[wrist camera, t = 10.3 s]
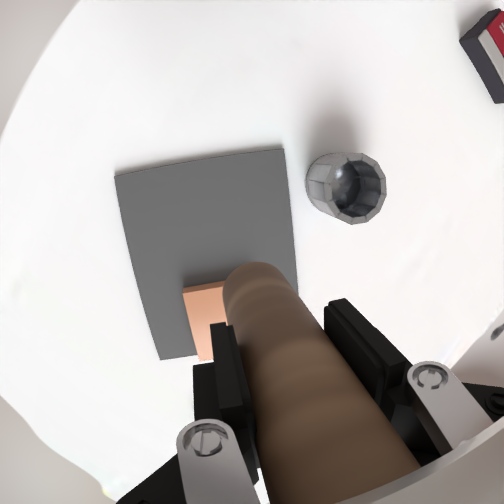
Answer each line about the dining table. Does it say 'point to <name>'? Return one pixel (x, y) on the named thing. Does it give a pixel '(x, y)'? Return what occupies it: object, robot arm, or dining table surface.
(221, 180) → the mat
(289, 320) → the rod
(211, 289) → the tile
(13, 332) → the dining table surface
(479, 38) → the calculator
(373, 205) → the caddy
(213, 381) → the robot arm
